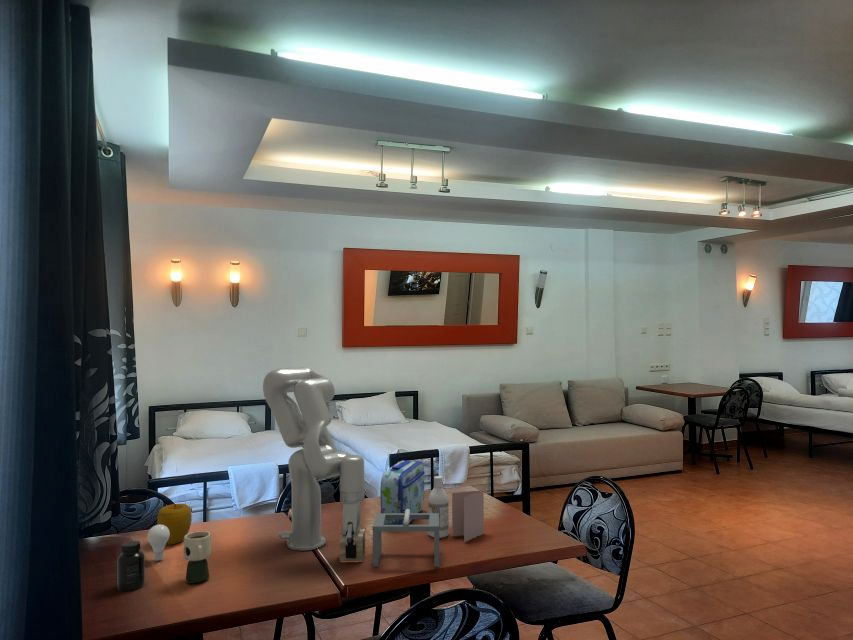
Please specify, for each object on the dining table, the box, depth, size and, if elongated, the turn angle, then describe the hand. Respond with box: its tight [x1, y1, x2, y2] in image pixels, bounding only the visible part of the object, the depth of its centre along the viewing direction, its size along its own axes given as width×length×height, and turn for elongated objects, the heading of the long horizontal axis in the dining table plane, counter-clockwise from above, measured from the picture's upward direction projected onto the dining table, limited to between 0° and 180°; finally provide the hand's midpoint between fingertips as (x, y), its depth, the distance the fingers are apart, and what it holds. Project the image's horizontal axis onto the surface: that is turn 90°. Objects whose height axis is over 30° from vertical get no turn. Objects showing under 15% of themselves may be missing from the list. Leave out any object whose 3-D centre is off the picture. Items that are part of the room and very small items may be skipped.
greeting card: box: [451, 490, 485, 543], centre depth 206 cm, size 11×7×15 cm, turn 105°
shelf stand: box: [372, 509, 440, 568], centre depth 187 cm, size 20×13×14 cm, turn 89°
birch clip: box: [339, 528, 366, 563], centre depth 187 cm, size 7×7×8 cm
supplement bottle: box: [116, 540, 146, 592], centre depth 168 cm, size 7×7×12 cm
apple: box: [156, 503, 193, 546], centre depth 203 cm, size 11×11×13 cm
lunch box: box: [379, 460, 426, 525], centre depth 227 cm, size 26×11×21 cm, turn 162°
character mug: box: [183, 530, 212, 584], centre depth 172 cm, size 11×7×13 cm, turn 28°
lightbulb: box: [146, 524, 170, 562], centre depth 187 cm, size 6×6×11 cm
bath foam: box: [427, 475, 450, 539], centre depth 209 cm, size 7×7×20 cm
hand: (352, 553), depth 187 cm, fingers closed on birch clip, 6 cm apart
